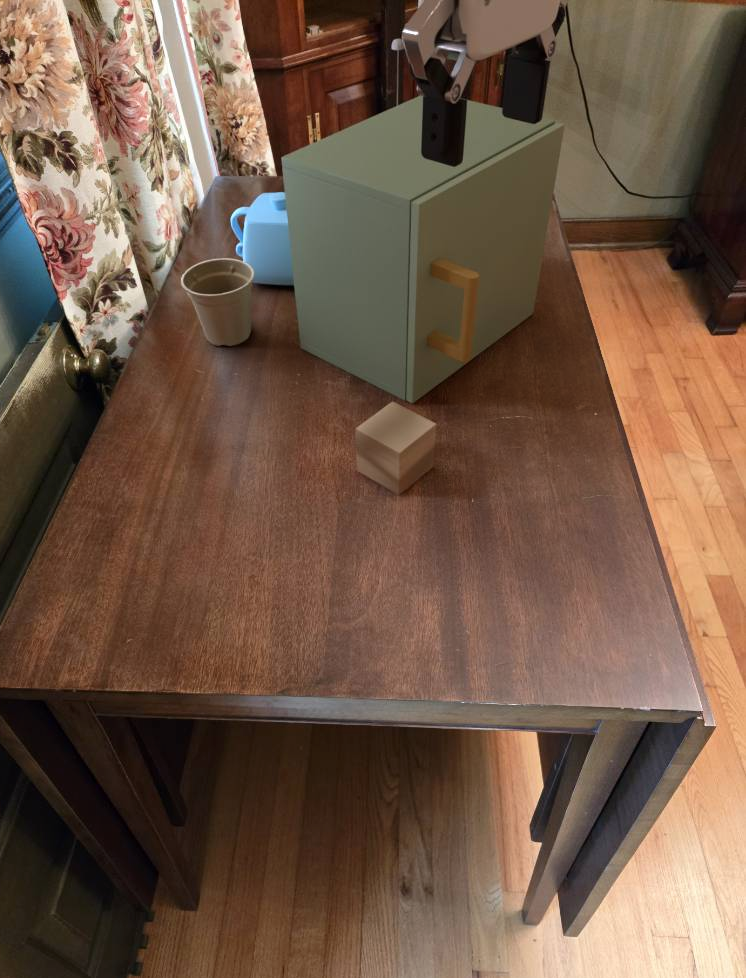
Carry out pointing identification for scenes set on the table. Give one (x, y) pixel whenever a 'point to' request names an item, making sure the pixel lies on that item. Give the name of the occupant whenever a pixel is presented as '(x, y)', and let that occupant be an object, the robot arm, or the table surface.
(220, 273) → the flower pot
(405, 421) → the block
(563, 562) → the table surface
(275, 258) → the teapot
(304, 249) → the cupboard
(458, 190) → the cupboard door
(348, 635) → the table surface
